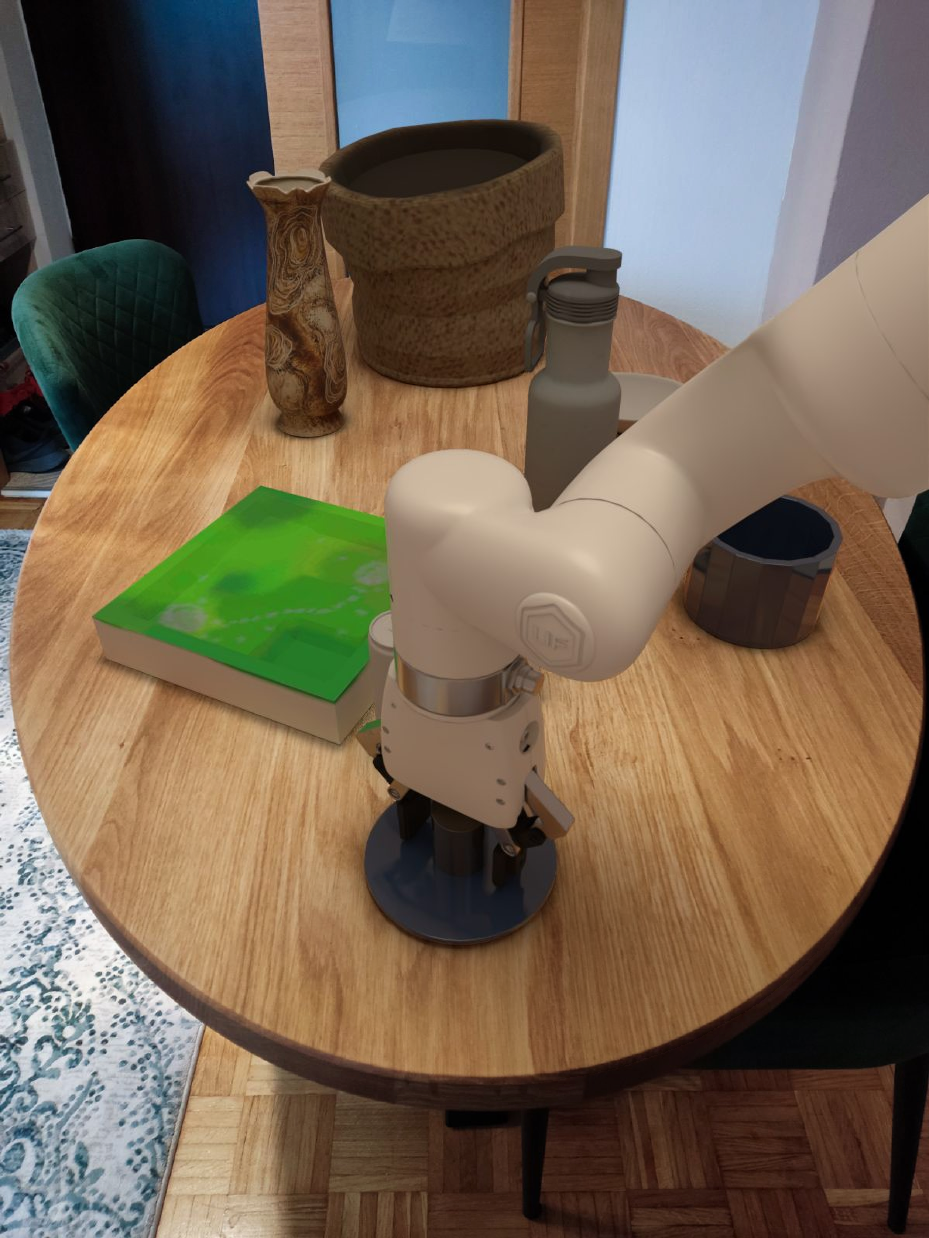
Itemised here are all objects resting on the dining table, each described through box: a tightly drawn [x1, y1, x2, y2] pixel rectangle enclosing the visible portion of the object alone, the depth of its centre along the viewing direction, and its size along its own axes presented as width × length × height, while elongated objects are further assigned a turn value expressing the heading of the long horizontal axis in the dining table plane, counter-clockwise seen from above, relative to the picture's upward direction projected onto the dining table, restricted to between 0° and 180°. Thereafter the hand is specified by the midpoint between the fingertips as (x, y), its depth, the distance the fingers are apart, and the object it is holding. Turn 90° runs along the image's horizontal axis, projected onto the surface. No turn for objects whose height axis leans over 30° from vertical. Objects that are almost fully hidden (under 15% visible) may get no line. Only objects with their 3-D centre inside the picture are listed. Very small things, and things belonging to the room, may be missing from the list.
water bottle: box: [523, 245, 623, 512], centre depth 92 cm, size 10×10×28 cm
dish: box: [610, 371, 684, 434], centre depth 114 cm, size 18×14×5 cm
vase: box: [245, 168, 348, 438], centre depth 108 cm, size 10×11×30 cm
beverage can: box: [368, 610, 394, 720], centre depth 69 cm, size 5×5×12 cm
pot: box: [317, 118, 566, 388], centre depth 128 cm, size 35×35×30 cm
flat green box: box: [91, 485, 391, 746], centre depth 83 cm, size 25×25×5 cm
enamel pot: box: [683, 493, 844, 649], centre depth 83 cm, size 13×13×10 cm
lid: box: [363, 799, 558, 946], centre depth 61 cm, size 14×14×6 cm
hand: (460, 847), depth 62 cm, fingers open, 6 cm apart
